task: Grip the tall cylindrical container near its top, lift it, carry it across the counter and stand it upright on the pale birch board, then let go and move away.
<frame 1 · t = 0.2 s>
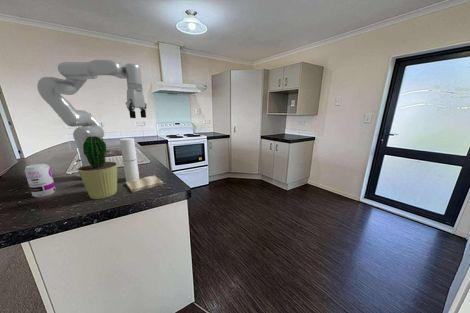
hand: (138, 117, 106), 37 cm above the table, tool pointing down, fingers open, 9 cm apart
birch board: (144, 184, 101), on the table
supplement can: (44, 194, 88), on the table
potted cactus: (103, 193, 89), on the table
cylindrical container: (132, 179, 108), on the table
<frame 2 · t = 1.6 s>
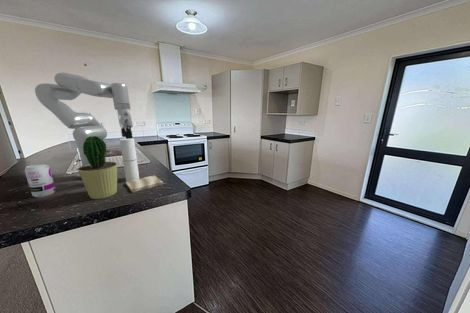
hand: (127, 137, 102), 26 cm above the table, tool pointing down, fingers open, 9 cm apart
nothing on the table moved.
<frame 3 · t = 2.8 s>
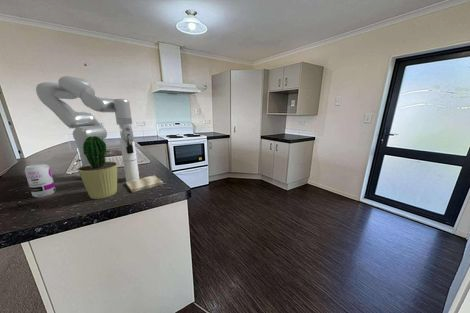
hand: (128, 151, 104), 17 cm above the table, tool pointing down, fingers closed on cylindrical container, 7 cm apart
cylindrical container: (132, 179, 108), on the table, touching gripper
everything else where it was.
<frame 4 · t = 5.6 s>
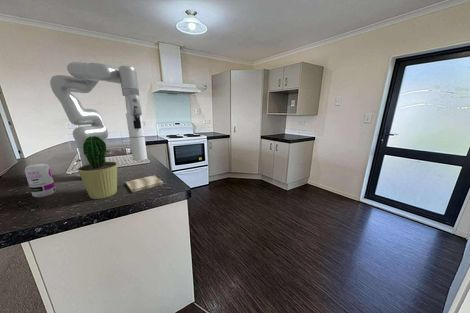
hand: (135, 127, 94), 32 cm above the table, tool pointing down, fingers closed on cylindrical container, 7 cm apart
cylindrical container: (140, 159, 98), point 15 cm above the table, touching gripper
everything else where it was.
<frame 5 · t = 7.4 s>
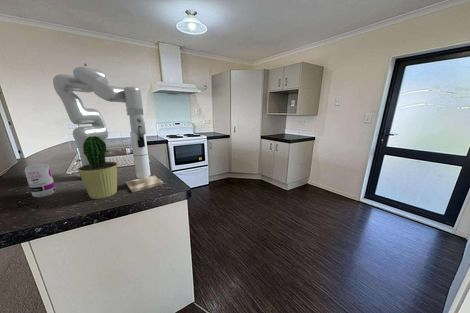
hand: (139, 145, 95), 23 cm above the table, tool pointing down, fingers closed on cylindrical container, 7 cm apart
cylindrical container: (143, 175, 100), point 5 cm above the table, touching gripper
everything else where it was.
when the fingers open (20 cm above the table, at t = 8.5 s): cylindrical container drops 1 cm, resting on birch board.
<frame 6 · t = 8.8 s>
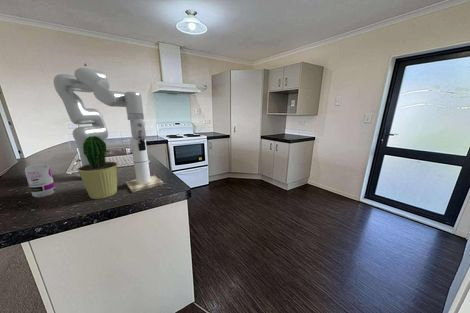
hand: (139, 149, 96), 21 cm above the table, tool pointing down, fingers open, 9 cm apart
cylindrical container: (143, 182, 101), point 1 cm above the table, touching birch board
everything else where it was.
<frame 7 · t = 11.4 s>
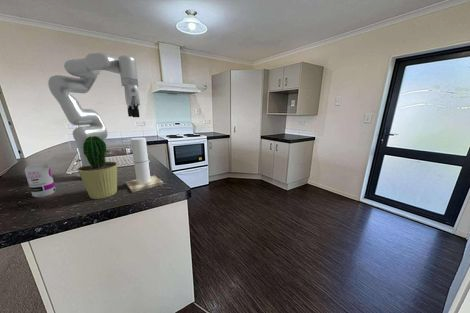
hand: (133, 116, 95), 38 cm above the table, tool pointing down, fingers open, 9 cm apart
nothing on the table moved.
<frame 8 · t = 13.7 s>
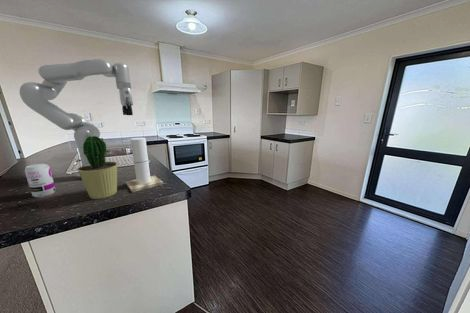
hand: (127, 115, 111), 38 cm above the table, tool pointing down, fingers open, 9 cm apart
nothing on the table moved.
at the end: cylindrical container inside the target area on the birch board (0.2 cm from its centre), point 1.3 cm above the birch board's base; cylindrical container tilted 0°; the gripper is holding nothing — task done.
